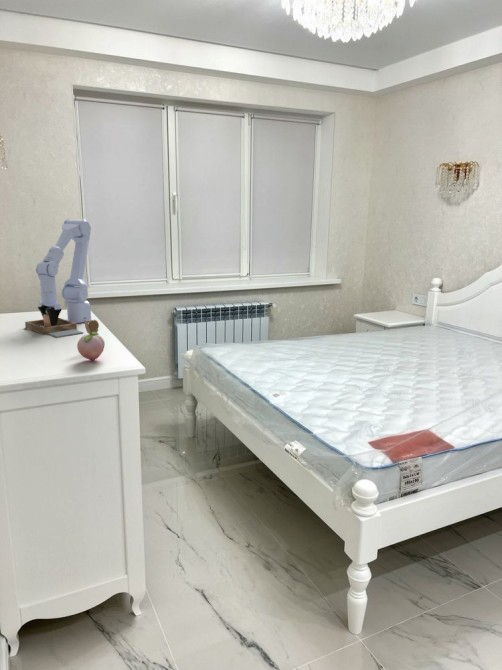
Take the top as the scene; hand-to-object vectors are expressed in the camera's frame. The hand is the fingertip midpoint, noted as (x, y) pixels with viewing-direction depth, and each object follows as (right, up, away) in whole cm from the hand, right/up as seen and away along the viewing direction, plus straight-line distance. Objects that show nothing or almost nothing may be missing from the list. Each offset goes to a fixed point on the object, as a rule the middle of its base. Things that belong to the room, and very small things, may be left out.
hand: (50, 324), depth 205 cm
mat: (+9, -4, -8) cm, 13 cm away
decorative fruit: (+30, -13, -42) cm, 53 cm away
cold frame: (0, -2, 0) cm, 2 cm away
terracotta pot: (0, -2, 0) cm, 2 cm away
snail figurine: (+26, -10, -28) cm, 39 cm away
